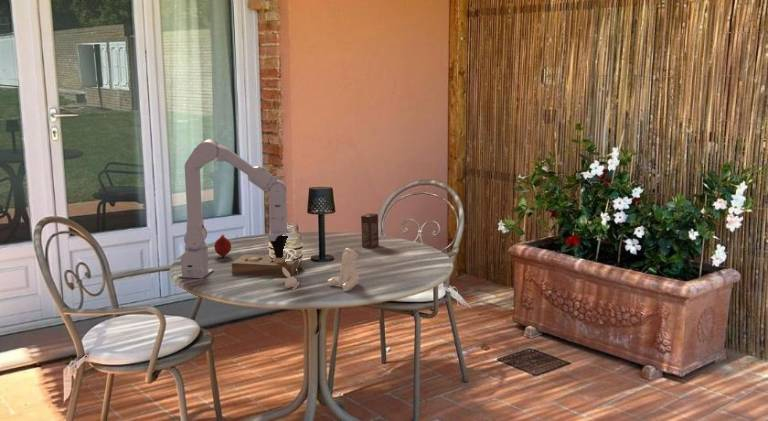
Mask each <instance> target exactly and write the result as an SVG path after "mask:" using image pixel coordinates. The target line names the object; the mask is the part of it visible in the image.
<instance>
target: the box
mask: <svg viewBox="0 0 768 421" xmlns="http://www.w3.org/2000/svg"><path fill="white" fill-rule="evenodd" d="M360 218H361V221H360V222H361V247H362V248H364V249H365V248H366V249H372V248H374V247H377V246H379V245H380V244H379V243H380V242H379V238H380V237H379V214H378V213H366V214H364V215H361V216H360Z"/></svg>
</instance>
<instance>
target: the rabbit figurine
mask: <svg viewBox="0 0 768 421" xmlns="http://www.w3.org/2000/svg"><path fill="white" fill-rule="evenodd" d="M282 271H283V273H284V275H285V276H284V277H285V278H273V279H271V282H272V283H274V284H281V283H282V284H283V283H284V286H282V288H283V289H284V288H286V289H289V288H292V290H296V289H297V288H298V286H299V284H300V281H299V280H298V279H297V278H296V277H294V276H290V273H289V272H288V271H287V270H286V268H284V267H282Z"/></svg>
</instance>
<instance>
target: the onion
mask: <svg viewBox="0 0 768 421" xmlns="http://www.w3.org/2000/svg"><path fill="white" fill-rule="evenodd" d="M214 250H215V252H216V254H217V255H219V256H220V257H221V258H222V257H226V255H228V254H230V252H231V250H232V244H231V242H230V240H229V239H228V238H227V237H225V235H224V234H221V236H220V237H219V238H218V239H216V241H215V242H214Z"/></svg>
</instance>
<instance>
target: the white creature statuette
mask: <svg viewBox="0 0 768 421" xmlns="http://www.w3.org/2000/svg"><path fill="white" fill-rule="evenodd" d="M358 256H359V254H358V253H356V250H354V249H352V248H350V247H345V249H344V250H343V252H342V254H341V263H340V266H339V268H338V269H339V275H338V276H333V277H330V278H329V279H327V285H328V286H329V287H338V288H341V289H342V290H343V291H344V292H349V291H351V290H352V289H354V288H355V287H356V286H357V285H358V283H359V280H360V277H359V275H358V272H357V271H356V266H355V264H354V263H353V262H354V261H355V260H356V259H357V258H358Z"/></svg>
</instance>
